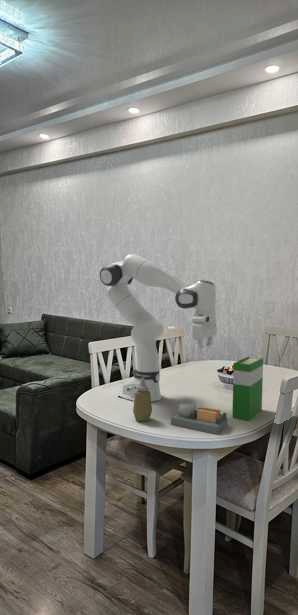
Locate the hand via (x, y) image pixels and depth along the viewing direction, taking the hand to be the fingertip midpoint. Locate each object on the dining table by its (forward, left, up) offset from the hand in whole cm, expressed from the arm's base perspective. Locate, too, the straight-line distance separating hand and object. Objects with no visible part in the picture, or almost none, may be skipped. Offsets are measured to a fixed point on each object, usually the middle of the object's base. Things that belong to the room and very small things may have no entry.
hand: (204, 347), depth 181 cm
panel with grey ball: (+5, -17, -29) cm, 34 cm away
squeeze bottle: (-18, -24, -29) cm, 42 cm away
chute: (+9, -17, -26) cm, 32 cm away
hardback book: (+18, +7, -29) cm, 35 cm away
